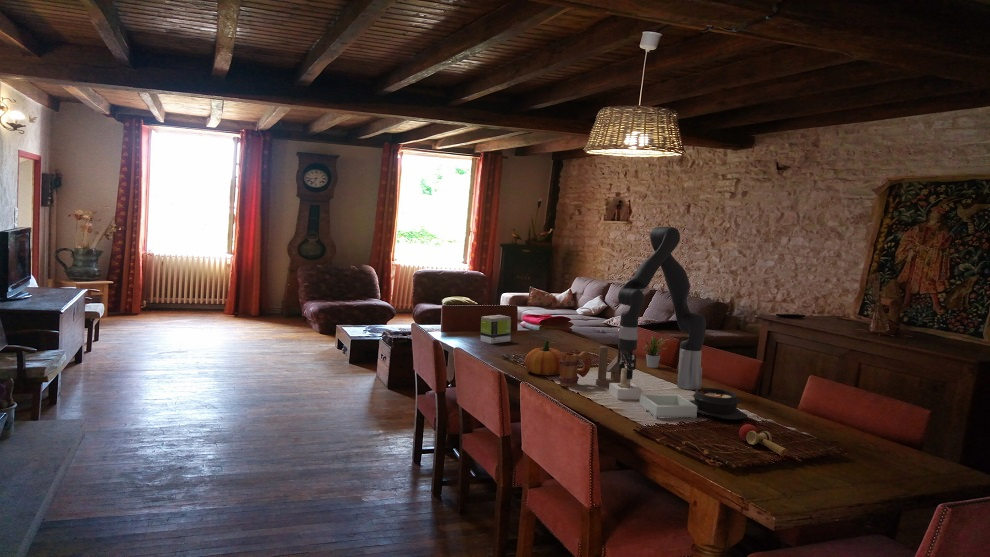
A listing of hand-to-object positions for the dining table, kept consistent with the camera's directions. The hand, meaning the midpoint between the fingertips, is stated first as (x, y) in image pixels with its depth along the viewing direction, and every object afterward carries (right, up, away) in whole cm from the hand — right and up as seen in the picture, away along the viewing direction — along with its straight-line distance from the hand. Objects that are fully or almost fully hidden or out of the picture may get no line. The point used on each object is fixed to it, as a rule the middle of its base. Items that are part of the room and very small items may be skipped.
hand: (625, 376), depth 264 cm
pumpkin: (-30, -4, +39) cm, 50 cm away
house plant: (+27, -5, +62) cm, 68 cm away
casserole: (+31, -12, -16) cm, 37 cm away
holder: (0, -9, +1) cm, 9 cm away
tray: (+13, -11, -16) cm, 23 cm away
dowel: (0, -8, +1) cm, 8 cm away
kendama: (+34, -16, -52) cm, 64 cm away
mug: (-19, -7, +17) cm, 26 cm away
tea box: (-53, +3, +112) cm, 124 cm away
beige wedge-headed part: (-4, -8, +17) cm, 19 cm away
